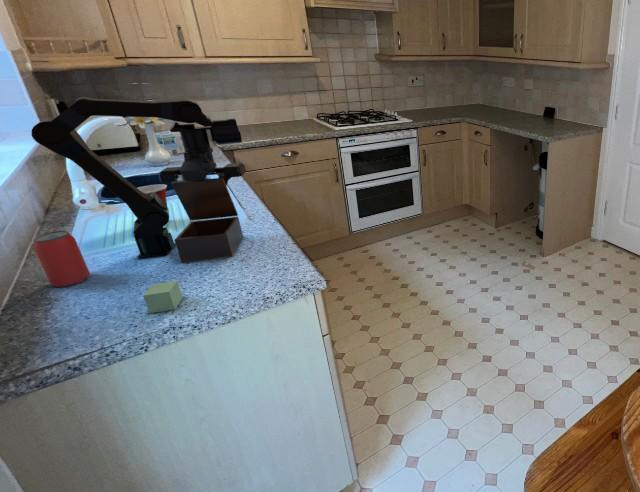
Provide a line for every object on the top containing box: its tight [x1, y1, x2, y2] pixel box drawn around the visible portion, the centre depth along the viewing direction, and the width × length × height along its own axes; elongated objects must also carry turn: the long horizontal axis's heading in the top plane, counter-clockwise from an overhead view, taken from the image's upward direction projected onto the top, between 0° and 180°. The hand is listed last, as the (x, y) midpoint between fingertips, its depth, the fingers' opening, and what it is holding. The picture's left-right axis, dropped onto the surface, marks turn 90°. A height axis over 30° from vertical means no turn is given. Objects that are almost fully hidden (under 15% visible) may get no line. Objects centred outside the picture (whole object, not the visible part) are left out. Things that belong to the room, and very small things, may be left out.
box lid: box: [170, 177, 239, 222], centre depth 112 cm, size 13×11×5 cm
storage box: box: [173, 216, 244, 264], centre depth 111 cm, size 12×11×7 cm
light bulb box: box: [155, 130, 185, 156], centre depth 205 cm, size 11×7×11 cm, turn 159°
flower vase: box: [123, 117, 174, 167], centre depth 184 cm, size 13×18×25 cm
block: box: [142, 280, 184, 314], centre depth 87 cm, size 4×4×4 cm
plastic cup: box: [136, 183, 168, 203], centre depth 124 cm, size 11×11×12 cm
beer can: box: [33, 229, 91, 288], centre depth 94 cm, size 7×7×12 cm
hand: (211, 201), depth 114 cm, fingers closed on box lid, 5 cm apart
